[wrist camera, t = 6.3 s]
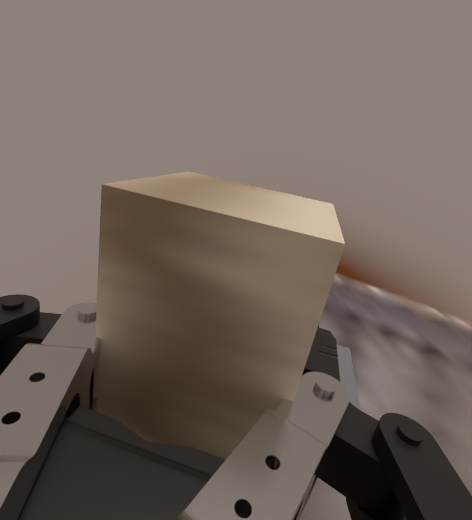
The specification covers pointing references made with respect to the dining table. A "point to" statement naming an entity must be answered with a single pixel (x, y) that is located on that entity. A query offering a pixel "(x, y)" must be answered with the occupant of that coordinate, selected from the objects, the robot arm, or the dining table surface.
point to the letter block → (207, 304)
